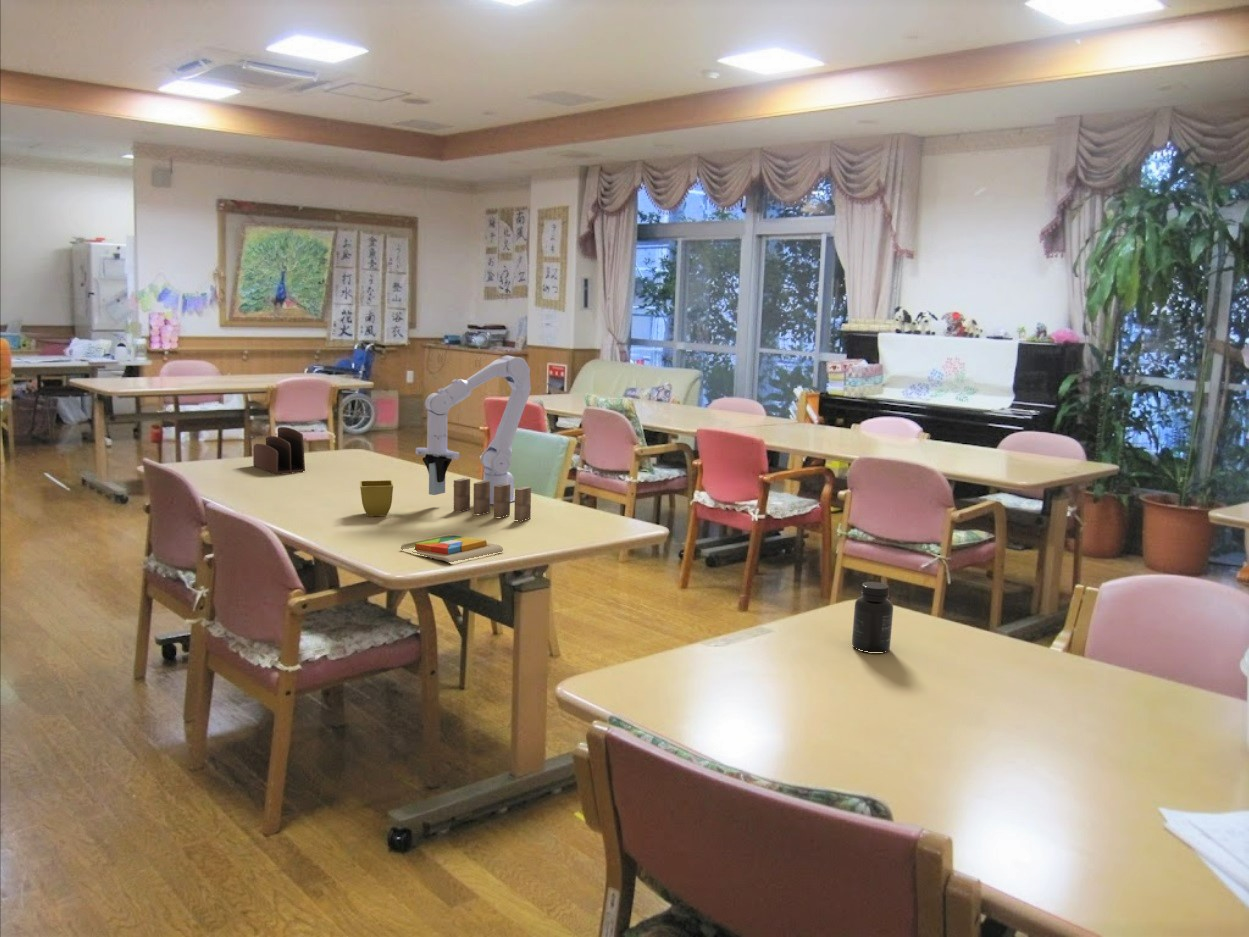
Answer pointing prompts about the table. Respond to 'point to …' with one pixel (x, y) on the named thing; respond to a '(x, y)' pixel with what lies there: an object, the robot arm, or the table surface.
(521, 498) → the domino
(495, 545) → the wooden puzzle
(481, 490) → the domino
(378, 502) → the flower pot
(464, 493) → the domino
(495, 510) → the domino
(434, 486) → the blue domino
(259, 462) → the letter holder
